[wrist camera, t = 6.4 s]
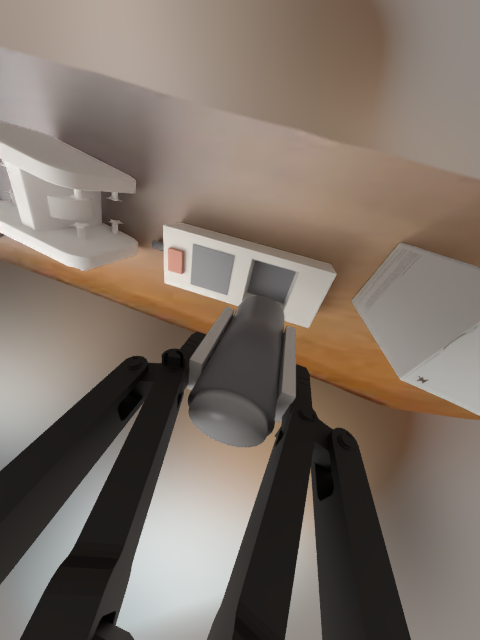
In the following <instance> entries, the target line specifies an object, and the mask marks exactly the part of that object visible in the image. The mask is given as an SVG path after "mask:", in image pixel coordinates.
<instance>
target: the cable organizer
mask: <svg viewBox="0 0 480 640" xmlns="http://www.w3.org/2000/svg"><path fill="white" fill-rule="evenodd" d="M0 159H2V161H1V162H2V163H0V165H1V166H4V167H6V169H7V172H8V176H9V179H10V183H11V186H12V190H11V189H9V191H4V192H9V194H10V197H11V200H12V201H9V200H0V233H2V234H4V235H6V236H8V237H10V238H12V239H13V240H16V241H18V242H20V243H22V244H24V245H26V246H28V247H30V248H32V249H34V250H36V251H38V252H41V253H43V254H45V255H47V256H49V257H51V258H53V259H55V260H57V261H59V262H61V263H63V264H65V265H67V266H69V267H74V268H78V269H79V268H80V269H81V270H82V271H86V270H90V269H92V268H96V267H99V266H102V265H105V264H109V263H112V262H115V261H118V260H121V259H125V258H128V257H131V256H134V255H137V254H138V242H137V241H136V240H135V239H134V238H132V237H131V236H129V235H127V234H125V233H123V232H121V231H119V230H118V223H120V224H123V223H121V222H120V220H119V221H115V220H111V219H110V220H111V221H108V222H111V223H112V227H111V226H109V225H107V224H105V223H103V222H102V208H101V191H104V192H111V197H110V196H109V198H108V199H111V200H113V201H121V200H119V198H118V193H132V194H134V193H136V180H135V179H134V178H132V177H131V176H129V175H127V174H125V173H124V172H122V171H120V170H118V169H116V168H114V167H112V166H110V165H108V164H106V163H104V162H102V161H100V160H98V159H96V158H94V157H92V156H90V155H88V154H86V153H84V152H82V151H80V150H78V149H76V148H74V147H72V146H70V145H68V144H66V143H64V142H62V141H60V140H58V139H56V138H54V137H51V136H49V135H46V134H44V133H41V132H38V131H34V130H31V129H27V128H24V127H20V126H17V125H13V124H10V123H6V122H3V121H0Z"/></svg>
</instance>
